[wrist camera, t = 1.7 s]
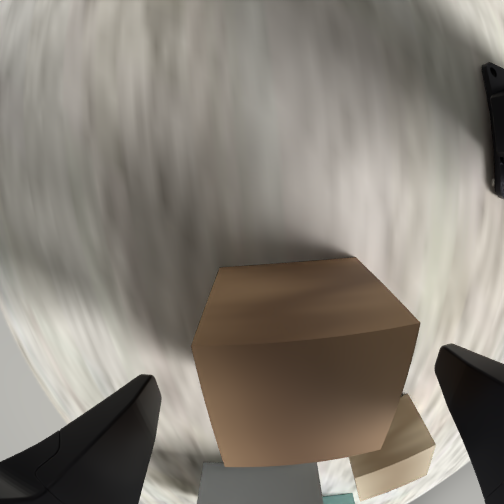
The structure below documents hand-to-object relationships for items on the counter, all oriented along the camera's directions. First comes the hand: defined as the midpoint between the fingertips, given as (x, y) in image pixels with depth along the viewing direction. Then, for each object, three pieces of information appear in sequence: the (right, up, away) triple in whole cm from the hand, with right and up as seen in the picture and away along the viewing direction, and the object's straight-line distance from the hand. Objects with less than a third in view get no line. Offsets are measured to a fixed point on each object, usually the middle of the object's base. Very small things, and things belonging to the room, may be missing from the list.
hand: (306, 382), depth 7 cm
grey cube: (-1, -13, +8) cm, 15 cm away
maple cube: (+6, -6, +6) cm, 10 cm away
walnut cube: (0, +1, +3) cm, 4 cm away
